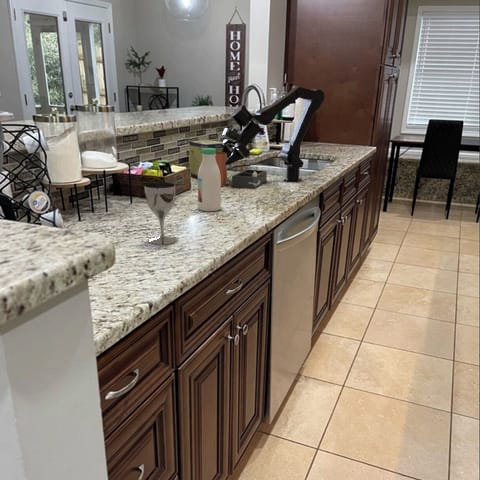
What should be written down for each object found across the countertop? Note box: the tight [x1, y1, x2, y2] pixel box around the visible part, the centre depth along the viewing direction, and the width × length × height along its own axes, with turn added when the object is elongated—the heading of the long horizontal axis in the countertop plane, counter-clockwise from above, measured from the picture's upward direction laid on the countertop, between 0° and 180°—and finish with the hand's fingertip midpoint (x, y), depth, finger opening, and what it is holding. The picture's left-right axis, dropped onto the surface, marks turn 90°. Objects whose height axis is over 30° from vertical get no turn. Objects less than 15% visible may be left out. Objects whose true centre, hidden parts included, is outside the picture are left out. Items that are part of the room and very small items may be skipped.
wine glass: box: [144, 182, 177, 245], centre depth 134 cm, size 8×8×15 cm
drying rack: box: [231, 169, 268, 190], centre depth 214 cm, size 9×18×5 cm, turn 160°
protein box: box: [188, 139, 223, 179], centre depth 225 cm, size 10×16×16 cm
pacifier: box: [248, 172, 260, 188], centre depth 208 cm, size 7×6×6 cm
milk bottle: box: [197, 148, 222, 212], centre depth 168 cm, size 8×8×20 cm
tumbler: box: [215, 152, 228, 187], centre depth 210 cm, size 6×6×13 cm
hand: (222, 163), depth 209 cm, fingers open, 9 cm apart
